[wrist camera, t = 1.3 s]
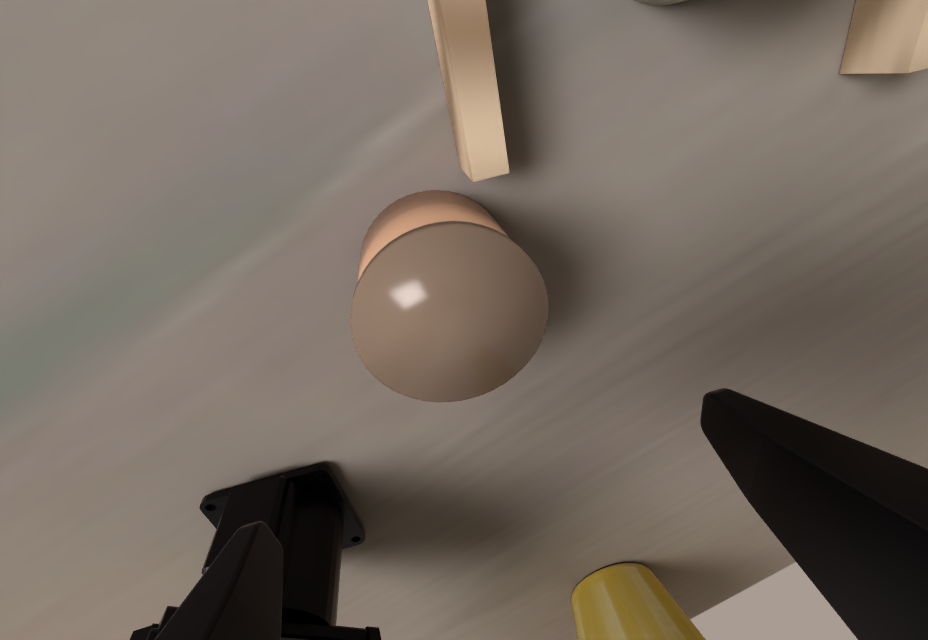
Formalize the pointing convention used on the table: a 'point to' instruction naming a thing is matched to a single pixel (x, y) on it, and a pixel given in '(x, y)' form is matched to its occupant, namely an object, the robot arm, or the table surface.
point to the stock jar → (660, 2)
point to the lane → (476, 92)
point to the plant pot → (628, 607)
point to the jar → (445, 300)
